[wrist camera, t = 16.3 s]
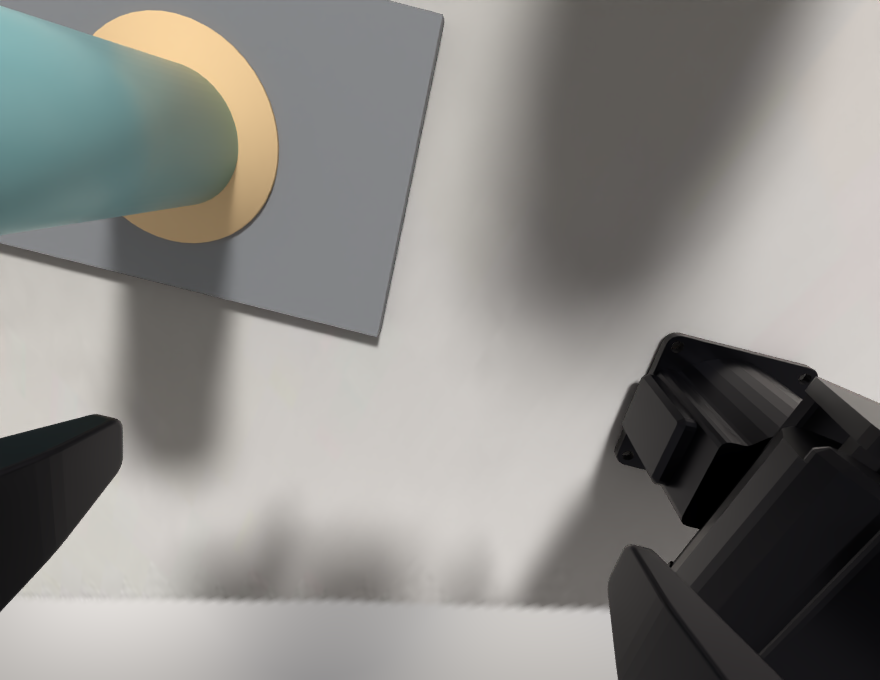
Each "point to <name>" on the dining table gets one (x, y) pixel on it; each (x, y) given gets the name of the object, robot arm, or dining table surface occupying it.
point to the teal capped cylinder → (102, 129)
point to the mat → (275, 150)
